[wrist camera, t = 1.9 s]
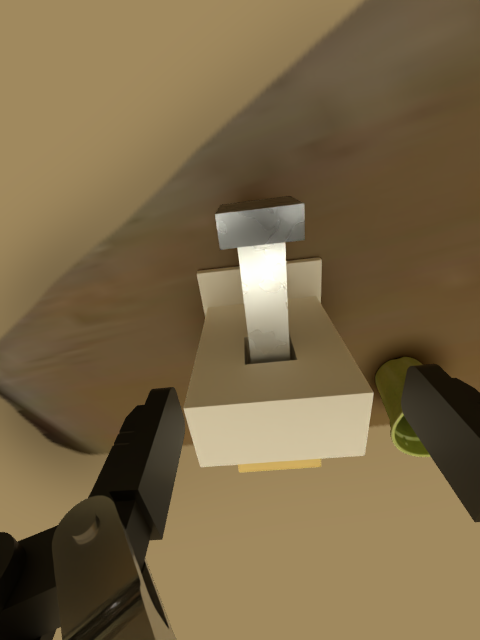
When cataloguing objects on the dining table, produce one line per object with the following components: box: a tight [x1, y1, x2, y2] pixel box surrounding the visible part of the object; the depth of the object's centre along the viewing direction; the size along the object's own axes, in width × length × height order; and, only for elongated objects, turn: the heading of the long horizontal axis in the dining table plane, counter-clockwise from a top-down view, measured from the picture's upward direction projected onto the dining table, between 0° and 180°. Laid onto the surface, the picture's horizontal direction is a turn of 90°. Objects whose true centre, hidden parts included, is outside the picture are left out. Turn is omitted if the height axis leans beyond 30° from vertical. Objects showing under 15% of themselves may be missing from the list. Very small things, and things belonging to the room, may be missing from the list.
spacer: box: [238, 459, 321, 472], centre depth 28 cm, size 3×8×8 cm, turn 97°
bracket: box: [184, 257, 374, 467], centre depth 26 cm, size 14×13×16 cm
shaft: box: [215, 196, 305, 364], centre depth 23 cm, size 24×5×5 cm, turn 7°
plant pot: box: [375, 357, 431, 457], centre depth 33 cm, size 9×9×9 cm
